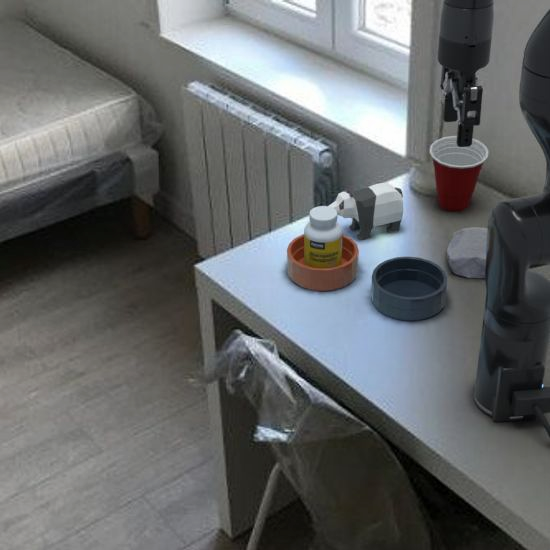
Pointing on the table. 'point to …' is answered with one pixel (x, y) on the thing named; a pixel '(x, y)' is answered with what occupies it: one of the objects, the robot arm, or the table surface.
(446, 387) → the table surface
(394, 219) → the giant panda
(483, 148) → the plastic cup
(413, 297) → the metal bowl
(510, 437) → the table surface
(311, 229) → the pill bottle
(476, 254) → the stone block
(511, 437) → the table surface
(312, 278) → the terracotta bowl
